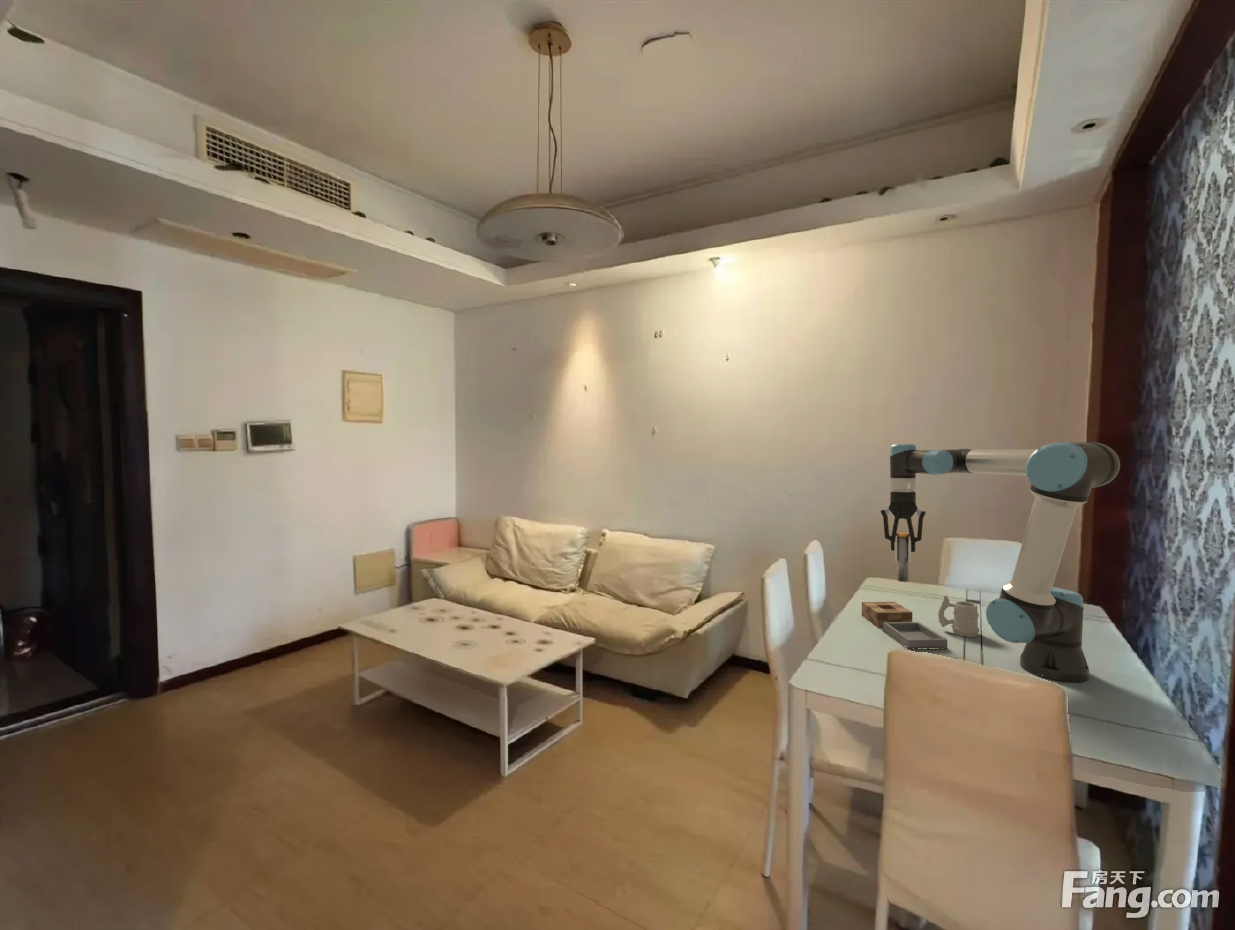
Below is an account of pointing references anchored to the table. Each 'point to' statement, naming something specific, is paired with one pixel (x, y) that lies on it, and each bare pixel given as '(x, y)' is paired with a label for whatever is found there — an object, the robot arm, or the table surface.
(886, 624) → the tray
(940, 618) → the mug
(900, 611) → the block
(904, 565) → the pin
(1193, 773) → the table surface
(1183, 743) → the table surface
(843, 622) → the table surface
